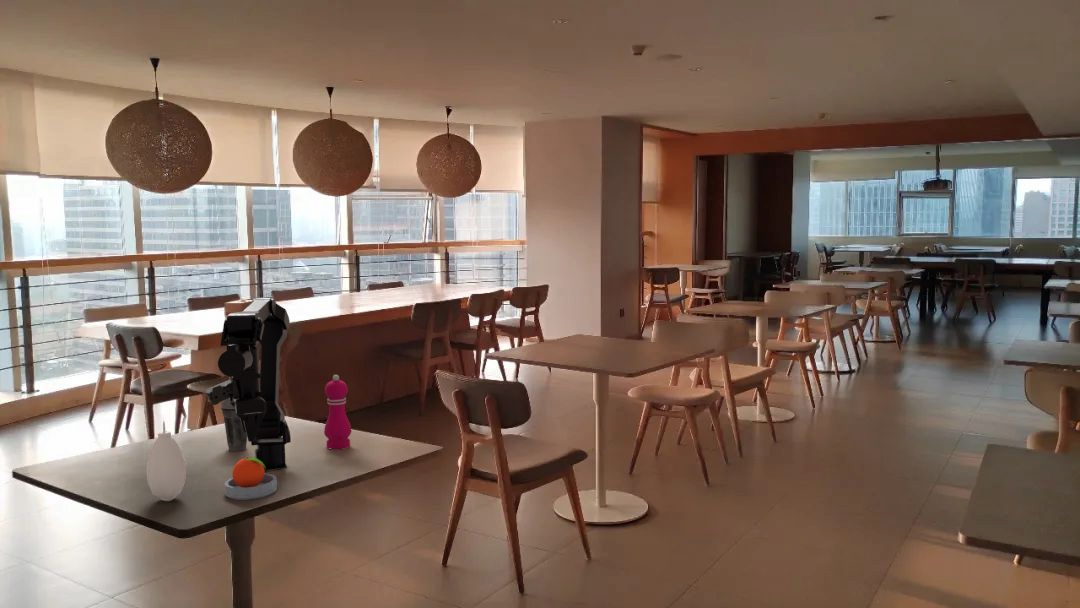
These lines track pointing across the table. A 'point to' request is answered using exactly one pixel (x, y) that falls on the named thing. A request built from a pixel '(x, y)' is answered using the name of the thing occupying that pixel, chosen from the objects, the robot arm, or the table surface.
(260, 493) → the saucer
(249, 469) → the clementine
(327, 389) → the pepper mill
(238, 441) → the beverage cup
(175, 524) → the table surface
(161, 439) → the white tall egg-shaped piece
